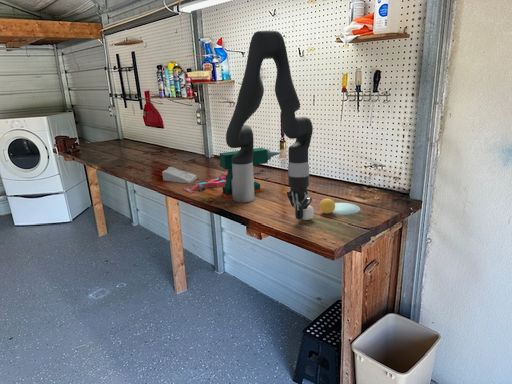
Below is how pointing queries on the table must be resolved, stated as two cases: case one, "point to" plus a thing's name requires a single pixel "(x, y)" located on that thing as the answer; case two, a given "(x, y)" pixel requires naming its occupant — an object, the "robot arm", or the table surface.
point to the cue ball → (308, 213)
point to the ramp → (178, 176)
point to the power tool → (258, 158)
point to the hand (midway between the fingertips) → (299, 218)
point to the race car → (209, 183)
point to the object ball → (327, 205)
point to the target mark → (345, 209)
